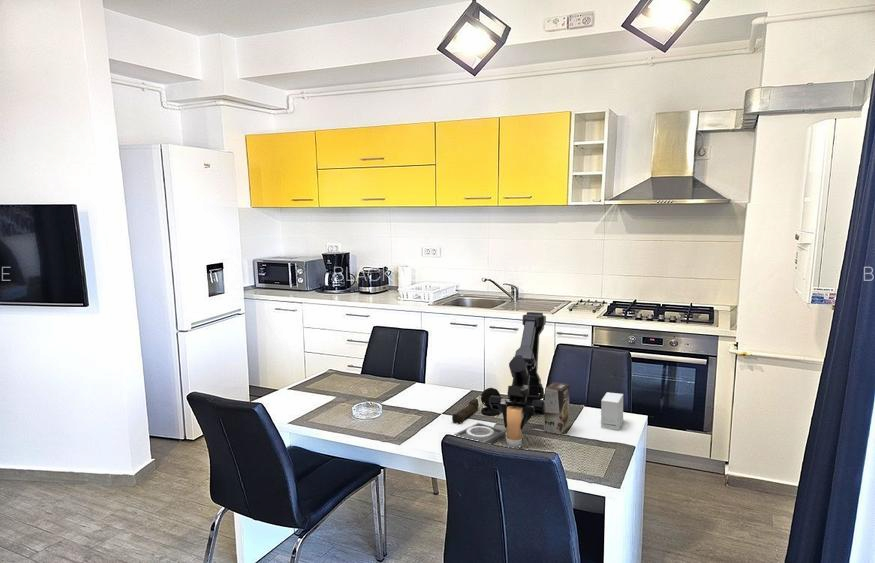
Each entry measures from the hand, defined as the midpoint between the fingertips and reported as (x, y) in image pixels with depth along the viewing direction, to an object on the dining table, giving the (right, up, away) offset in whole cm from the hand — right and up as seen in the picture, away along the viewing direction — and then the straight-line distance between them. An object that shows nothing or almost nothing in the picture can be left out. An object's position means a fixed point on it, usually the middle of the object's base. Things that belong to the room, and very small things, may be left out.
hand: (513, 428), depth 188 cm
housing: (-10, -6, +9) cm, 15 cm away
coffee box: (+18, -5, +16) cm, 25 cm away
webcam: (-4, -3, +33) cm, 34 cm away
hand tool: (-14, -3, +31) cm, 34 cm away
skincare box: (+39, -4, +20) cm, 44 cm away
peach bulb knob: (+1, -6, +2) cm, 7 cm away
